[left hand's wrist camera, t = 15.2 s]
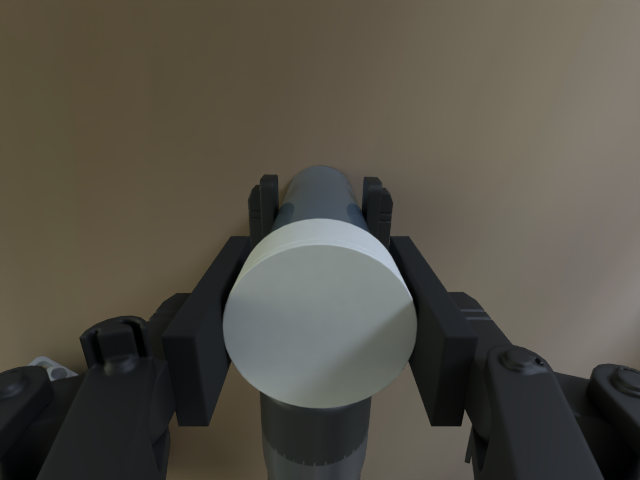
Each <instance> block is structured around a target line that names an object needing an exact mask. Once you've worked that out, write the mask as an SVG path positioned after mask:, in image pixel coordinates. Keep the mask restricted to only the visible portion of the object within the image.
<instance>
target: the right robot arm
mask: <svg viewBox="0 0 640 480" xmlns="http://www.w3.org/2000/svg"><path fill="white" fill-rule="evenodd" d="M248 207H249V225H250V246H251V252H252V251H253V249H254V248H255V247H256V246H257V244H259V243H260V242H261V241H262V240H263V239H264V238H265V237H266V236H268V235H269V234H270V231H271V229H272V226H273V224H274V221H275V219H276V216H277V214H278V211H279V201H278V176H277V175H264V176H263V177H262V178H261V180H260V185H256V186H255V187H254V188H253V189H252V190H251V193H250V196H249V199H248ZM392 207H393V202H392V199H391V196H390V193H389V192H388V191H387V190H386V188H382V183H381V181H380V180H379V179H378V178H377V177H364V183H363V198H362V214H363V217H364V219H365V221H366V224H367V226H368V229H369V231H370V234H371V235H372V236H373V237H375V238H376V239H377V240H378V241H379V242H380V243H381V244H382V245H383V246H384V247H385V248H386V249H387V251H388V252H389V237H390V227H391V217H392ZM260 402H261V422H262V441H263V453H264V459H265V463H266V467H267V471H268V480H360V474H361V470H362V467H363V464H364V460H365V455H366V448H367V438H368V428H369V417H370V407H371V396H370V397H368V398H366V399H364V400H361V401H359V402H356V403H352V404H349V405H345V406H340V407H333V408H307V407H300V406H295V405H291V404H287V403H284V402H281V401H278V400H276V399H274V398H272V397H270V396H268V395H266V394H264V393H263V392H261V391H260Z"/></svg>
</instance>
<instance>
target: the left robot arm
mask: <svg viewBox="0 0 640 480" xmlns="http://www.w3.org/2000/svg"><path fill="white" fill-rule="evenodd" d="M250 253H251V246H250V236H231V237H230V239H229V240H228V241H227V243H226V244H225V246H224V247H223V249H222V250H221V251H220V253H219V254H218V256H217V257H216V259H215V260H214V261H213V263H212V264H211V266H210V267H209V269H208V270H207V271H206V273H205V274H204V276H203V277H202V279H201V280H200V281H199V283H198V284H197V286H196V287H195V289H194V290H193V291H192V293H176V294H175V295H173V296H172V297H170V298H168V299H167V300H165V301H164V302H163V303H162V304H161V306H160V307H159V308H158V309H157V310H156V313H154V314H153V315H152V317H151V318H150V319H149V321H148V322H147V323H146V321H145V320H144V319H142V318H141V317H136V316H120V317H116V318H111V319H107V320H105V321H103V322H100V323H98V324H95V325H94V326H92V327H91V328H89V329H88V330H86V331H85V332H84V333H83V334H82V335H81V337H80V342H81V345H82V348H83V352H84V355H85V358H86V362H87V365H88V371H87V373H85V374H81V375H77V376H72V377H67V378H63V379H58V380H53V381H50V378H49V375H48V372H47V370H46V369H44V368H43V367H42V366H33V365H30V366H23V367H17V368H13V369H11V370H7V371H4V372H2V373H0V480H166V473H167V465H168V456H169V448H170V433H169V428H168V424H169V422H170V420H171V418H172V416H173V414H174V411H176V416H177V421H178V426H209V423H210V420H211V417H212V415H213V412H214V409H215V406H216V403H217V400H218V397H219V395H220V392H221V389H222V386H223V383H224V380H225V378H226V375H227V372H228V369H229V366H230V363H231V359H230V357H229V354H228V352H227V349H226V346H225V342H224V336H223V327H222V323H223V313H224V309H225V305H226V302H227V300H228V297H229V294H230V292H231V290H232V288H233V286H234V284H235V282H236V280H237V278H238V276H239V274H240V272H241V270H242V268H243V266H244V264H245V262H246V260H247V258H248V257H249V255H250ZM389 253H390V255H391V256H392V258H393V260H394V262H395V264H396V266H397V268H398V270H399V272H400V274H401V276H402V278H403V280H404V283H405V285H406V287H407V289H408V291H409V293H410V295H411V297H412V299H413V302H414V305H415V308H416V314H417V334H416V342H415V346H414V349H413V352H412V354H411V356H410V358H409V364H410V367H411V370H412V373H413V375H414V378H415V381H416V384H417V387H418V390H419V392H420V395H421V398H422V401H423V404H424V407H425V409H426V412H427V415H428V418H429V421H430V424H431V426H461V425H462V420H463V415H464V409H465V410H466V412H467V414H468V416H469V418H470V421H471V423H472V428H471V433H470V437H469V442H468V447H467V452H466V457H465V462H466V463H470V460H471V455H472V464H473V472H474V480H640V371H638V370H635V369H632V368H629V367H626V366H621V365H614V364H602V365H598V366H597V367H595V368H594V369H593V371H592V374H591V377H590V380H589V379H585V378H580V377H575V376H570V375H566V374H561V373H557V372H553V370H552V368H551V367H550V366H549V364H548V363H547V362H546V360H544V359H543V358H542V357H540V356H539V355H537V354H536V353H534V352H532V351H530V350H528V349H526V348H523V347H519V346H515V345H512V343H511V342H510V341H509V340H508V339H507V337H506V336H505V335H504V334H503V332H502V331H501V330H500V329H499V328H498V326H497V325H496V324H495V323H494V321H493V320H491V318H490V317H489V315H488V314H487V313H486V312H484V309H483V308H482V307H481V306H480V304H479V303H478V302H477V301H476V300H475V299H473V298H472V297H470V296H469V295H467V294H465V293H464V292H447V290H446V289H445V288H444V286H443V285H442V283H441V282H440V280H439V279H438V278H437V276H436V275H435V273H434V272H433V270H432V269H431V268H430V266H429V265H428V263H427V262H426V260H425V259H424V257H423V256H422V255H421V253H420V252H419V250H418V249H417V247H416V246H415V245H414V243H413V242H412V240H411V239H410V237H409V236H390V243H389Z"/></svg>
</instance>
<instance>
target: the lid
mask: <svg viewBox="0 0 640 480" xmlns="http://www.w3.org/2000/svg"><path fill="white" fill-rule="evenodd" d="M222 327H223V336H224V342H225V346H226V349H227V352H228V354H229V357H230V359H231V360H232V362H233V364H234V366H235V367H236V369H237V370H238V371H239V372H240V374H241V375H242V376H243V377H244V378H245V379H246V380H247V381H248V382H249V383H250V384H251V385H253V386H254V387H255V388H257V389H258V390H259V391H261V392H263V393H264V394H266V395H268V396H270V397H272V398H274V399H276V400H278V401H281V402H284V403H287V404H291V405H295V406H300V407H307V408H333V407H340V406H345V405H349V404H352V403H356V402H359V401H361V400H364V399H366V398H368V397H370V396H372V395H374V394H376V393H377V392H379V391H380V390H382V389H383V388H385V387H386V386H387V385H388V384H390V383H391V382H392V381H393V380H394V379H395V378H396V377H397V376H398V375H399V373H400V372H401V371H402V370H403V368H404V367H405V365H406V364H407V362H408V361H409V358H410V356H411V354H412V352H413V349H414V346H415V342H416V334H417V314H416V308H415V305H414V302H413V299H412V297H411V295H410V293H409V291H408V289H407V287H406V285H405V283H404V280H403V278H402V276H401V274H400V272H399V270H398V268H397V266H396V264H395V262H394V260H393V258H392V256H391V255H390V253H389V252H388V251H387V249H386V248H385V247H384V246H383V245H382V244H381V243H380V242H379V241H378V240H377V239H376V238H375V237H373V236H372V235H371V234H370V233H368V232H366V231H365V230H363V229H361V228H359V227H357V226H354V225H352V224H350V223H346V222H343V221H339V220H332V219H307V220H302V221H297V222H293V223H291V224H288V225H285V226H283V227H281V228H279V229H277V230H275V231H273V232H272V233H271V234H269V235H268V236H266V237H265V238H264V239H263V240H262V241H261V242H260V243H259V244H257V246H256V247H255V248H254V249H253V251H252V252H251V253H250V255H249V257H248V258H247V260H246V262H245V264H244V266H243V268H242V270H241V272H240V274H239V276H238V278H237V280H236V282H235V284H234V286H233V288H232V290H231V292H230V294H229V297H228V300H227V302H226V305H225V309H224V313H223V323H222Z"/></svg>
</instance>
